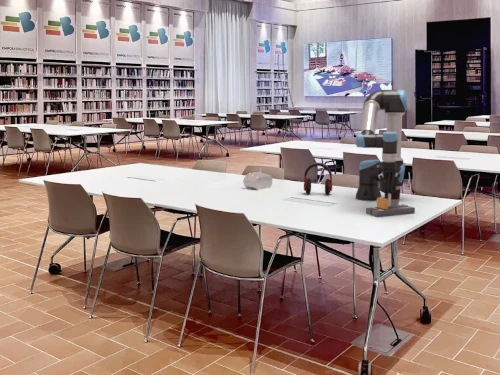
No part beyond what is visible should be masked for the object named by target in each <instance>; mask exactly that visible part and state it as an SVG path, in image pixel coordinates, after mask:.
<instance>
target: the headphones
mask: <svg viewBox="0 0 500 375" xmlns="http://www.w3.org/2000/svg"><path fill="white" fill-rule="evenodd" d="M314 167H321V168H324V169H326V171H327V172H328V174H329V178H330V179H329V178H326V179H325V183H324V193H325V195H327V196H328V195H330V193H331V192H332V191H333V174H332V170H331V169H330V167H329V166H328V165H327V164H325V163H323V162H314V163H312V164H310V165H309V166H307V168H306V169H305V172H304V175H303V176H304V177H303V181H304V182H303V190H304V191H305V194H306V195H310V194H311V192H312V180H311V178H307V175H308V172H309V171H310V170H311V169H312V168H314Z"/></svg>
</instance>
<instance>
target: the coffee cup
mask: <svg viewBox="0 0 500 375" xmlns="http://www.w3.org/2000/svg"><path fill="white" fill-rule="evenodd" d="M402 182H403V181H401V182H400V181H399V180H398V183H397V187H396V191H395V192H394V193H393V194H392V199H391V205H400V198H401V186H402V185H403V184H402Z"/></svg>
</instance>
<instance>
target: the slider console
mask: <svg viewBox="0 0 500 375" xmlns="http://www.w3.org/2000/svg"><path fill="white" fill-rule="evenodd" d="M415 212H416V207H414V206H410V205H407V204H403V203H402V204H401V203H400V204H399V205H391V206H388V209H380V208H378V207H377V206H371V207H366V208H365V214H367V215H369V216H373V217H375V218H379V217H389V216H390V217H391V216H399V215H410V214H415Z"/></svg>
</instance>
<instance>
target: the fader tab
mask: <svg viewBox="0 0 500 375" xmlns="http://www.w3.org/2000/svg"><path fill="white" fill-rule="evenodd" d="M376 207H378V208H380V209H388V199H386V198H384V197H383V196H381V197H379V198H377V200H376Z"/></svg>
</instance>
